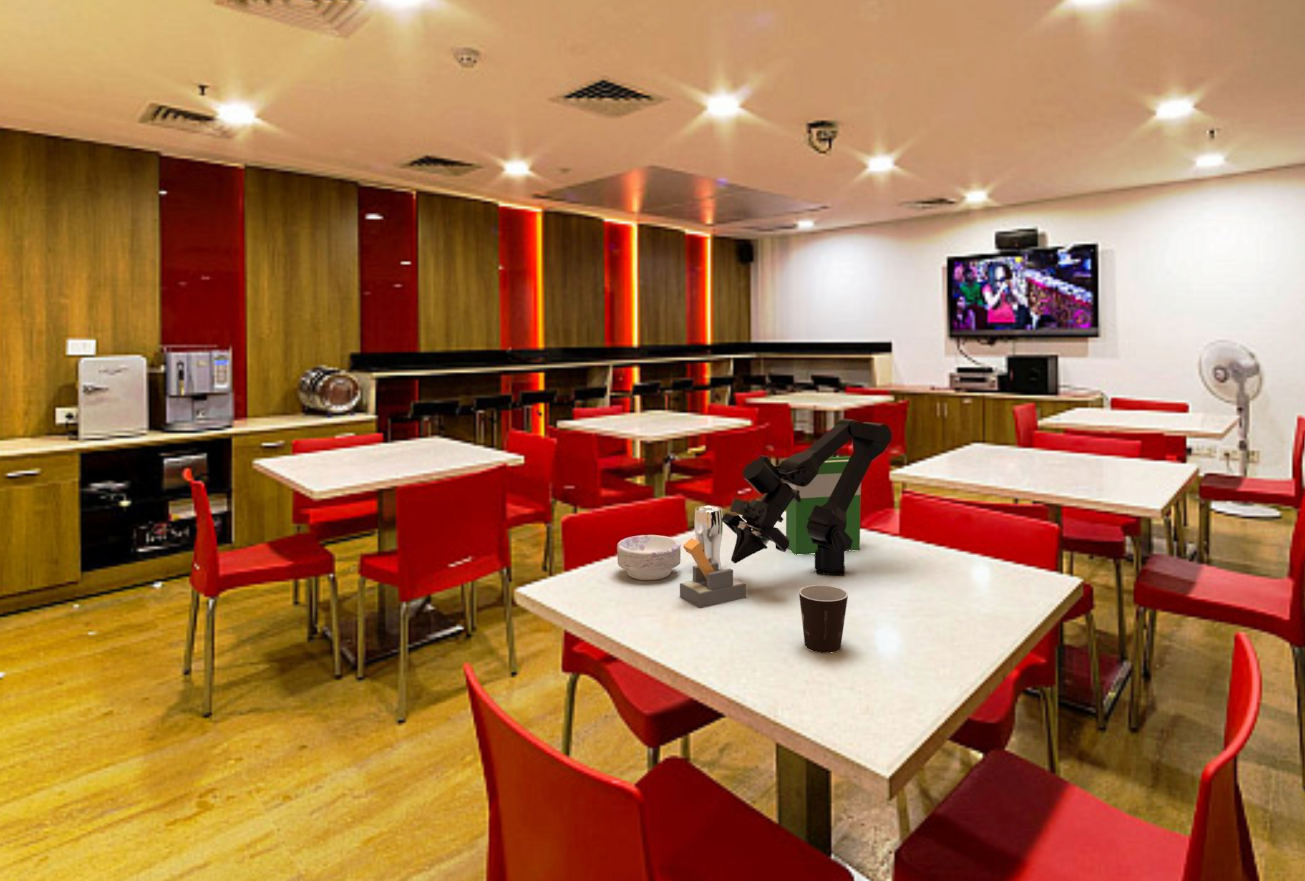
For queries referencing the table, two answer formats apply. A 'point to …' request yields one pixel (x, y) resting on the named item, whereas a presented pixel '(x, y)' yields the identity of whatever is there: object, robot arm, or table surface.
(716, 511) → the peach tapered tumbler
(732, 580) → the breaker block
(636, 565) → the paper bowls
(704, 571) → the breaker lever
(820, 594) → the coffee mug
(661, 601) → the table surface
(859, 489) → the hardback book
